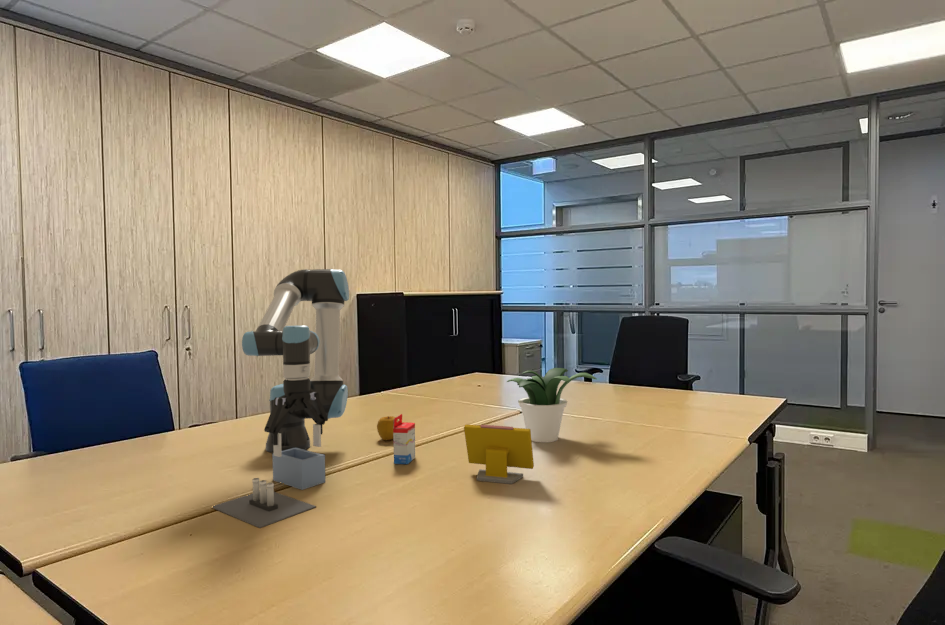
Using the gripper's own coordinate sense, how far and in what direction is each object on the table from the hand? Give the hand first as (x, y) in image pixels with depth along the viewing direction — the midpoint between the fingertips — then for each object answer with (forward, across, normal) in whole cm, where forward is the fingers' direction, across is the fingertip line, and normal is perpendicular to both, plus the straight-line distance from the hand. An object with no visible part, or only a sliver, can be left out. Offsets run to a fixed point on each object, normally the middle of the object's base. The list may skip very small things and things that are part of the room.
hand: (298, 451), depth 166 cm
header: (+9, -18, -10) cm, 22 cm away
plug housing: (+9, 0, 0) cm, 9 cm away
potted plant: (+8, +85, -36) cm, 93 cm away
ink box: (+9, +34, -11) cm, 36 cm away
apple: (+8, +50, +13) cm, 52 cm away
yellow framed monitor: (+9, +36, -46) cm, 59 cm away
